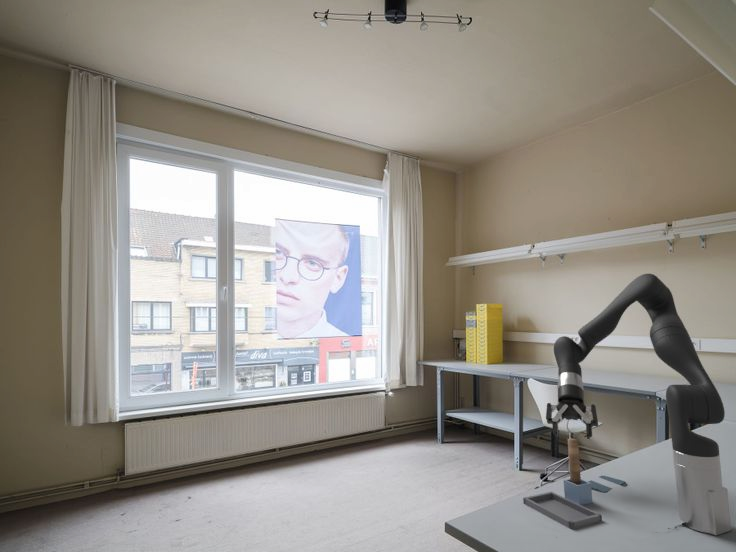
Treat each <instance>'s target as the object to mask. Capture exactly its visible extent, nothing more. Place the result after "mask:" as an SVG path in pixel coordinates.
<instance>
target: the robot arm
mask: <svg viewBox="0 0 736 552" xmlns="http://www.w3.org/2000/svg"><path fill="white" fill-rule="evenodd" d="M635 302H637V303H639V305H641V306H642V307H643V308H644V309H645V311H646V313H647V314H648V316H649V318H650V320H651V323H652V325H651V327H650V329H649V339H650V342H651V344H652V346H653V349H654V353H655V354H656V356H657V357H658V358H659V359H660V360H661V361H662V362H664V364H666V365H667V366H668V367H669V368H671V369H672V370H674V371H675V372H677V373H678V374H680V375H681V376H682V377H683V378H684V379H685V380H686V381H687V382H688V383H689V384H669V386H668V387H667V388H666V391H665V401H666V403H665V404H666V408H667V409H666V410H667V414H668V422H669V429H670V430H669V431H670V436H671V445H672V447H671V448H672V457H673V468H674V478H675V479H674V480H675V488H676V489H675V490H676V499H677V500H676V501H677V508H678V510H677V511H678V518H679V519H680V521H682V523H681V524H682V525H683V526H684V527H687V528H688V529H691V530H694V531H698V532H701V533H706V534H710V535H713V536H718V535H722V534H725V533H728V532H731V531H732V520H731V512H730V511H731V510H730V501H729V493H728V492H729V491H728V488H727V487H725V486H723V478H722V465H721V456H720V446H719V444H718V442H717V441H715V440H714V439H712V438H710V437H706V436H703V435H701V434H698V433H696V432H694V431H693V430H690V427H689V424H698V425H700V424H702V425H716V424H720V423H723V421H724V419H725V414H726V412H725V407H724V403H723V400H722V397H721V395H720V393H719V392H718V389H717V388H716V386H715V384H714V382H713V381H712V379H711V378H710V376H709V374H708V372H707V371H706V370H705V367H704V366H703V364H702V362H701V360H700V357H699V355H698V353H697V351H696V348H695V346H694V343H693V340H692V338H691V337H690V334H689V332H688V329H686V326H685V324H684V322H683V320H682V318H681V317H680V315H679V314H678V311H677V308H676V304H675V299H674V296H673V293H672V291H671V290H670V288H669V287H668V286H667V285H666V284H665V283H664V282H663V281H662V280H661V279H660V278H659V277H658V276H657V275H655V274H652V273H644V274H640V275H639V276H637V277H636V278H634V279H632V281H631V282H630V283H629V284H627V286H625V287H624V289H623V290H621V292H620V293H619V294H618V295H617V296H616V297H615V298H614V299H613V300H612V301H611V302H610V303H609V304H608V306H606V307H605V308H604V309H603V310H602V311H601V312H600V313H599V314H598V315H597V316H595V317H593V319H591V320H590V321H589V322H587V323H586V324H585V325H583V326H582V327H580V328H579V330H578V331H577V334H578V336H579V338H580V341H579V343H577V342H576V341H575V340H573V339H572V338H571V337H569V336H560V337H558V338H557V339H556V340H555V342H554V344H553V354H554V358H555V361H556V364H557V367H558V372H557V373H558V374H557V375H558V377H557V378H558V380H557V404H552V403H550V402H548V403H547V404H546V412H545V419H546V423H547V424H549V425H551V426H552V433H553V435H554V436H555V437H556V438H558V437H559V424H560V423H562V422H563V421H564V420H565V419H566V421H567V420H569V421H570V420H573V421H578V420H580V422H582V424H584V425H585V431H586V439H587V440H590V439H591V438H592V437H593V429H592V428H593V427H598V426H599V421H598V420H599V419H598V414H597V408H596V405H595V404H594V403H593V404H591V405H589V406H588V405H585V395H584V394H585V393H584V383H583V374H582V366H581V363H582V362H584V360H585V359H586V358H587V356H588V355H590V353H591V351H592V350H593V349H594V348H595V347H596V345H597V344H599V343H601V342H602V341H604V340H605V339H606V338H607V337H609V336H610V335H611V334H612V333H613V332H614V331H615V330H616V328H617V327H618V325H619V323H620V320H621V319H622V317H623V314H624V313H625V312H626V310H627V309H628V308H629V307H630V306H631V305H632V304H634V303H635ZM555 411H557V412H556V414H555V416H552V415H553V414H552V413H554V412H555ZM586 412H588V413H589V414H590V415H591V416H592V419H590V418H588V416H587V415H586V414H585V413H586ZM552 417H553V418H552Z"/></svg>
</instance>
